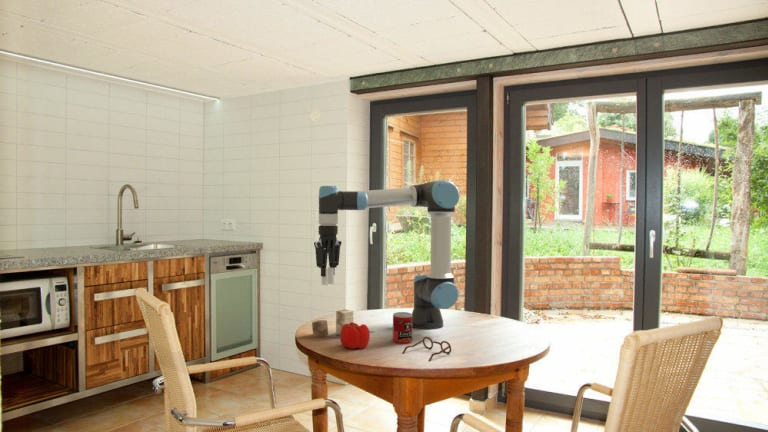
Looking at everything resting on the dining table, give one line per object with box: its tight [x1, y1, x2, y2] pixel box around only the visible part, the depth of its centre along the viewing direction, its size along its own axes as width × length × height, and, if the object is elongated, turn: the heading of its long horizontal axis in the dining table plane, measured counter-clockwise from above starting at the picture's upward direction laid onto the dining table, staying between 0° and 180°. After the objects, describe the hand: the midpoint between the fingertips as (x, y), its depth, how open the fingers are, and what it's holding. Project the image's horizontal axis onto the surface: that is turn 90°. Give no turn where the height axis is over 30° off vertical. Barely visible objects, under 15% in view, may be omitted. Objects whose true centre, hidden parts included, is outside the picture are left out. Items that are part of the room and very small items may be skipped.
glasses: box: [402, 336, 452, 362], centre depth 188 cm, size 13×13×5 cm
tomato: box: [339, 322, 371, 350], centre depth 195 cm, size 11×12×9 cm
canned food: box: [392, 311, 413, 345], centre depth 205 cm, size 8×8×11 cm
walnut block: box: [311, 319, 329, 338], centre depth 211 cm, size 4×4×6 cm
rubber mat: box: [326, 330, 375, 341], centre depth 215 cm, size 11×19×1 cm, turn 141°
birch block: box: [335, 308, 354, 336], centre depth 212 cm, size 5×5×10 cm
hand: (327, 284), depth 204 cm, fingers open, 3 cm apart
